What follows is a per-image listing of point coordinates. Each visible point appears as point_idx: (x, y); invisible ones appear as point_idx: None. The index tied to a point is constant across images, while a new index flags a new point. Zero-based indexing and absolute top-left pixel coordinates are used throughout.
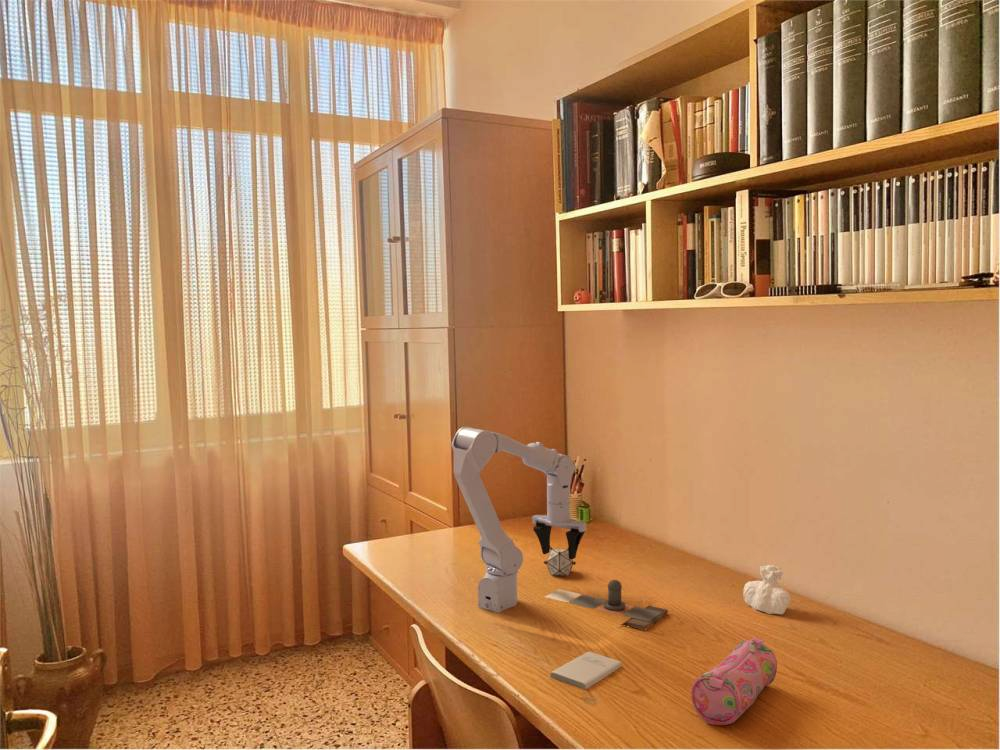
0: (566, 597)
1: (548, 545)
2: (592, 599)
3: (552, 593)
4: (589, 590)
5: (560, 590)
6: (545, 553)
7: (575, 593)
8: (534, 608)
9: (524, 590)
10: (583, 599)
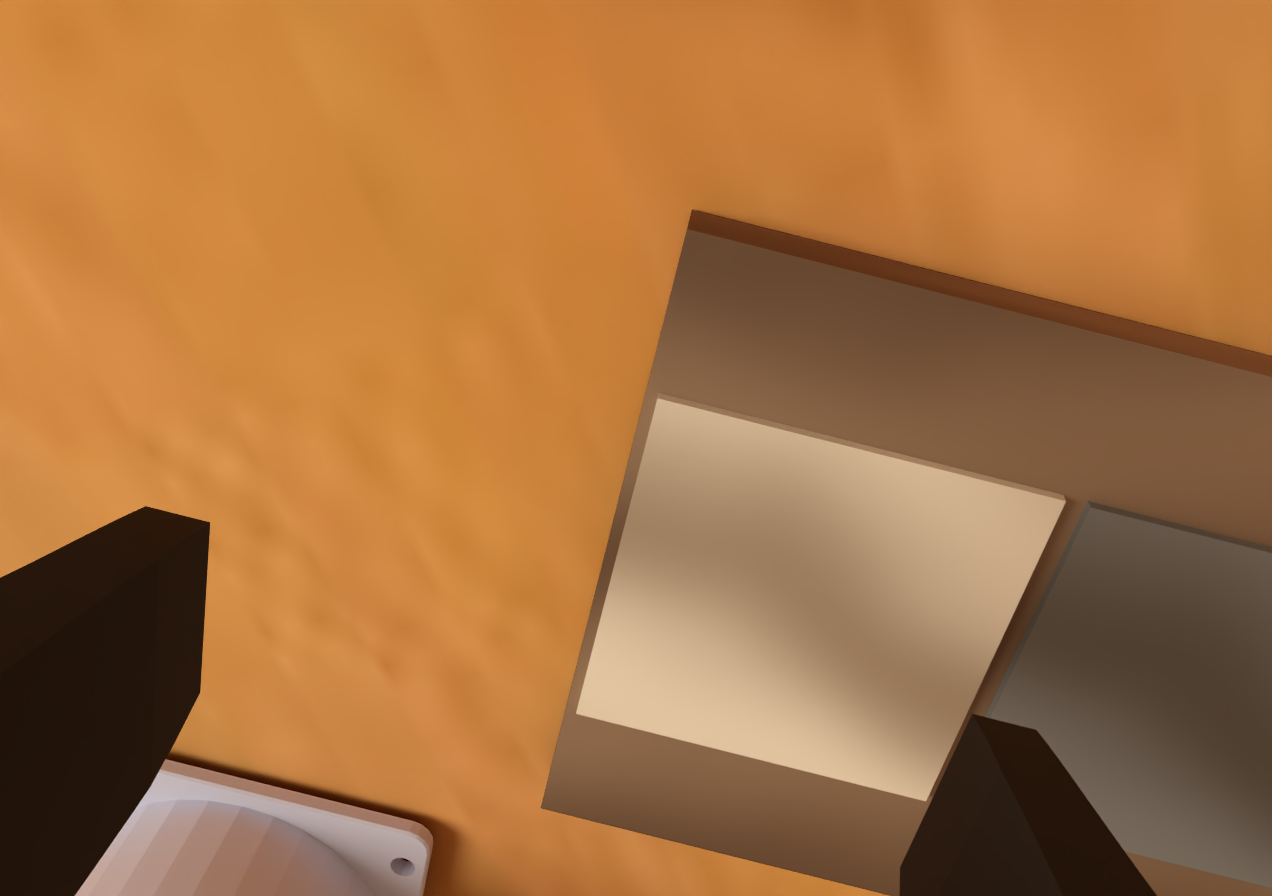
0: (869, 662)
1: (98, 674)
2: (1259, 643)
3: (634, 579)
4: (1122, 43)
5: (705, 443)
6: (191, 684)
7: (962, 491)
8: (559, 851)
9: (162, 376)
10: (1123, 671)
